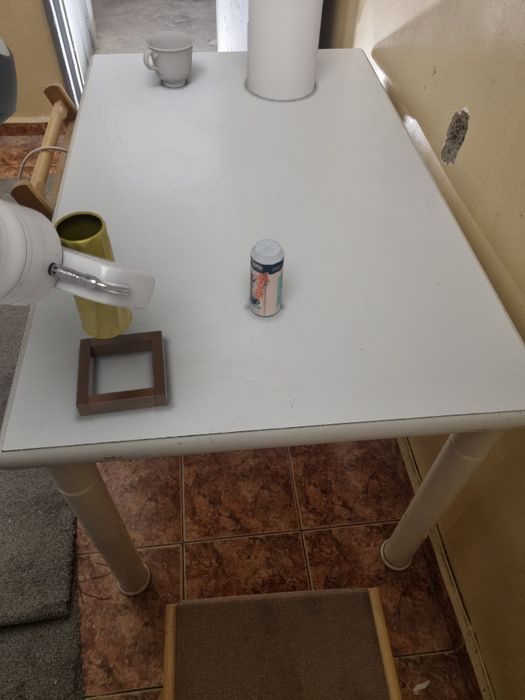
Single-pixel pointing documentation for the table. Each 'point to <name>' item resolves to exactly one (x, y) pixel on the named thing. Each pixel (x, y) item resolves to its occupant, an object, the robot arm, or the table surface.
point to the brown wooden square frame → (122, 399)
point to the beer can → (266, 277)
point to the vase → (93, 238)
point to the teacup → (170, 56)
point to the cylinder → (282, 47)
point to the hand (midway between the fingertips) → (96, 270)
